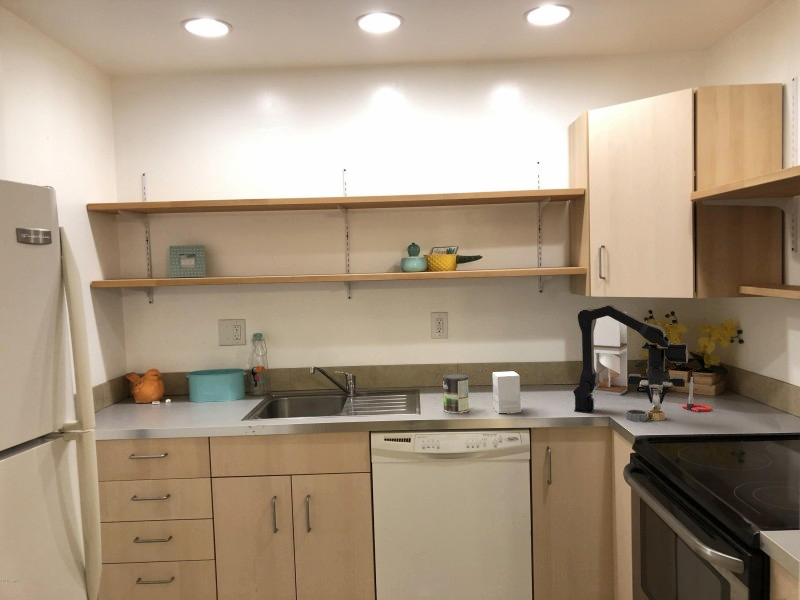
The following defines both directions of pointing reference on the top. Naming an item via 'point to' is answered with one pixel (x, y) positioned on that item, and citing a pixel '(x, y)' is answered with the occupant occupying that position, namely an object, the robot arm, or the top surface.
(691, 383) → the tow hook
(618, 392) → the spiral ramp tower
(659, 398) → the round-tipped metal peg
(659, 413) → the small brass socket
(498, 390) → the supplement box
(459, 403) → the coffee can
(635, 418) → the wide steel socket
